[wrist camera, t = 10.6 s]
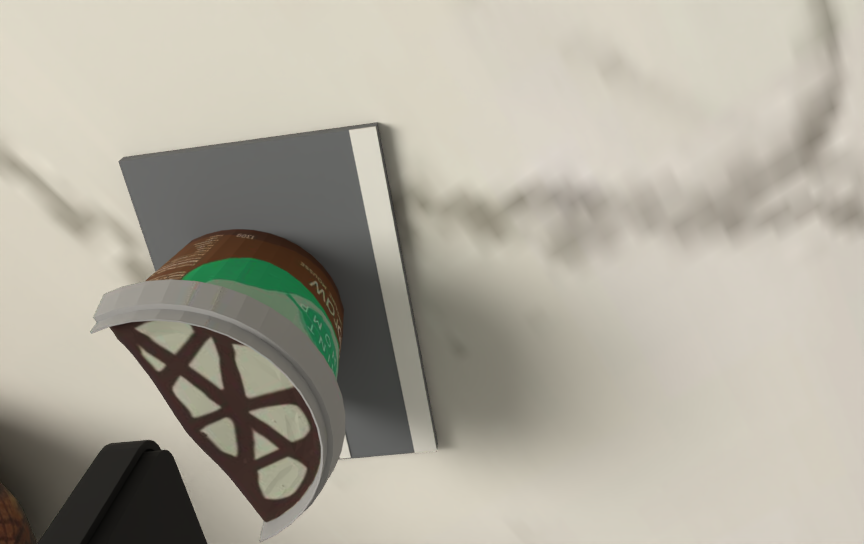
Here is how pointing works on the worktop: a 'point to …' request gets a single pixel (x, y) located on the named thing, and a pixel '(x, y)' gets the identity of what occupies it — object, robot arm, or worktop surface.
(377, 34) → the worktop surface
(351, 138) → the mat
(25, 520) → the jug
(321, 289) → the food container
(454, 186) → the worktop surface
